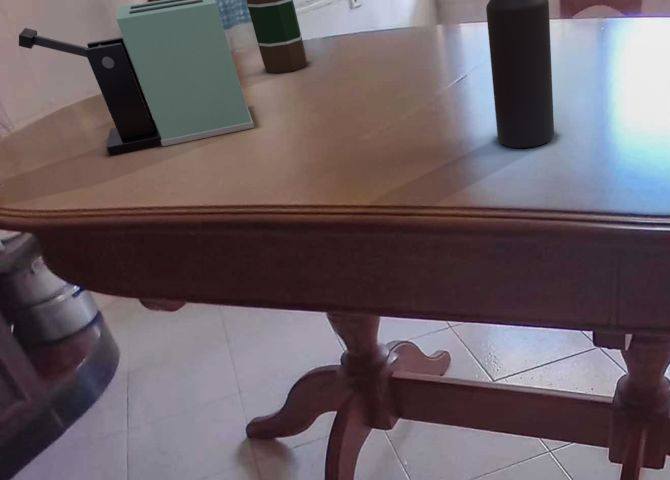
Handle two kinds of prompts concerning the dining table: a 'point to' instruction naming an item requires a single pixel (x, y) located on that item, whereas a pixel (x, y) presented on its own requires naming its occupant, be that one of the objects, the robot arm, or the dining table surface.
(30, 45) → the toaster lever
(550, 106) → the vinegar
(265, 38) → the beer bottle
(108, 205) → the dining table surface
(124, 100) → the lever bracket
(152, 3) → the toaster
